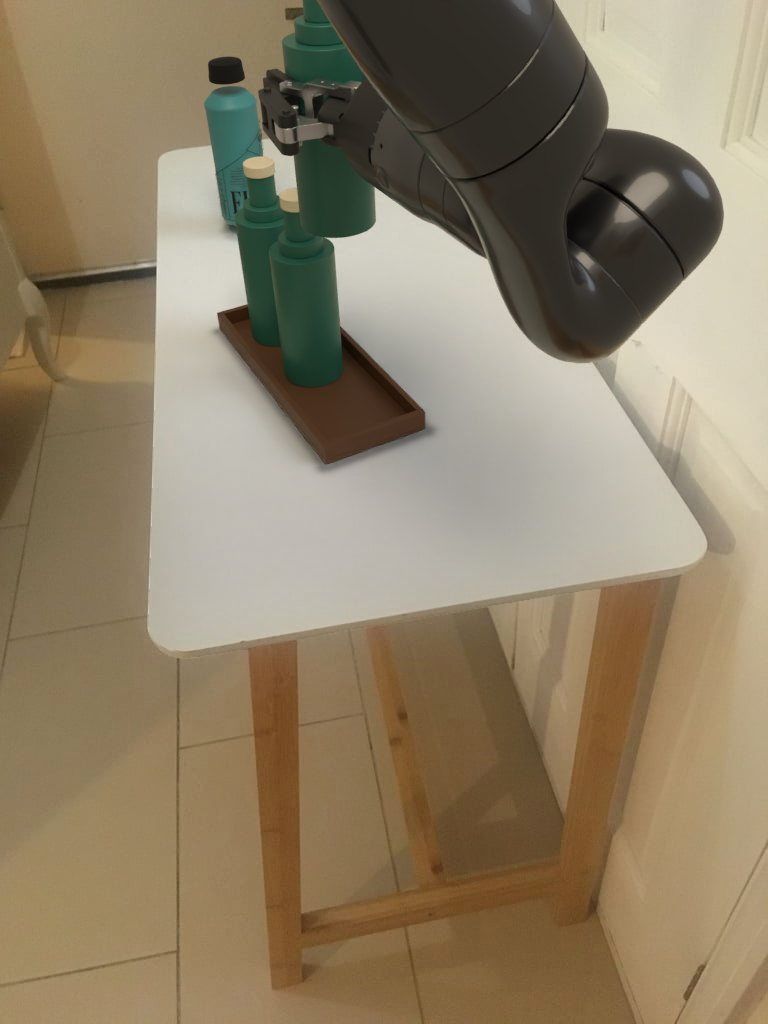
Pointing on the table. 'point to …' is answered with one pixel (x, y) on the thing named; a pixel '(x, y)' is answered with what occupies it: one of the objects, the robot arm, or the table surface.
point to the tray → (331, 395)
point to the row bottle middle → (306, 300)
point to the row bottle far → (260, 247)
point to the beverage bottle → (231, 133)
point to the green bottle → (318, 167)
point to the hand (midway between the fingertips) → (313, 76)
